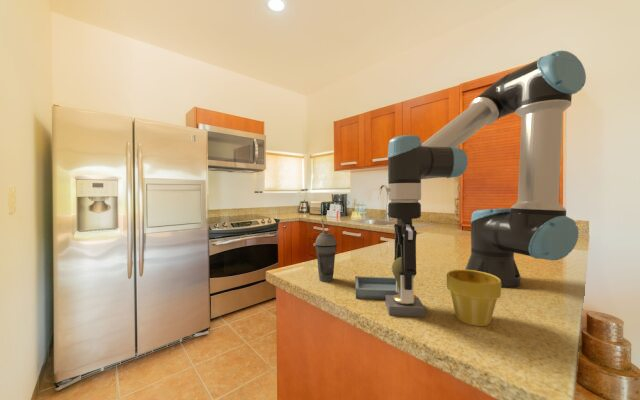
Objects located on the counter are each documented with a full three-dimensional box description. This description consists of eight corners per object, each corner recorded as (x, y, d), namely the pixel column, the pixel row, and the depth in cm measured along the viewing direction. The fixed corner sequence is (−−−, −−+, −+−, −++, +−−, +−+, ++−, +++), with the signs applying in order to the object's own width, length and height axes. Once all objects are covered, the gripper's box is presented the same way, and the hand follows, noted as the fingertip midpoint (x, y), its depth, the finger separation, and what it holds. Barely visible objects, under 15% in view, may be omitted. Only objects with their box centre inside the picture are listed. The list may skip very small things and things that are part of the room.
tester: (417, 304, 65) (417, 293, 65) (425, 317, 58) (425, 305, 58) (385, 302, 66) (385, 292, 66) (389, 315, 59) (389, 303, 59)
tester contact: (412, 296, 64) (412, 294, 64) (417, 305, 59) (417, 302, 59) (391, 296, 65) (391, 293, 65) (395, 304, 60) (395, 301, 60)
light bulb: (419, 302, 59) (419, 259, 59) (395, 302, 59) (395, 259, 59) (411, 293, 65) (411, 254, 65) (389, 293, 65) (389, 254, 65)
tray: (398, 285, 78) (398, 277, 78) (405, 300, 67) (405, 291, 67) (355, 284, 80) (355, 276, 80) (355, 298, 69) (355, 289, 69)
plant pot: (479, 336, 50) (479, 286, 50) (436, 314, 60) (436, 272, 60) (512, 325, 54) (512, 279, 54) (466, 306, 64) (467, 267, 64)
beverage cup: (335, 283, 80) (335, 220, 80) (312, 282, 82) (312, 220, 81) (338, 276, 87) (338, 218, 87) (317, 275, 89) (317, 218, 88)
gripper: (383, 200, 71) (383, 283, 72) (394, 202, 53) (394, 313, 53) (411, 200, 70) (411, 284, 71) (432, 202, 52) (432, 315, 52)
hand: (404, 296), depth 62 cm, fingers closed on light bulb, 6 cm apart
